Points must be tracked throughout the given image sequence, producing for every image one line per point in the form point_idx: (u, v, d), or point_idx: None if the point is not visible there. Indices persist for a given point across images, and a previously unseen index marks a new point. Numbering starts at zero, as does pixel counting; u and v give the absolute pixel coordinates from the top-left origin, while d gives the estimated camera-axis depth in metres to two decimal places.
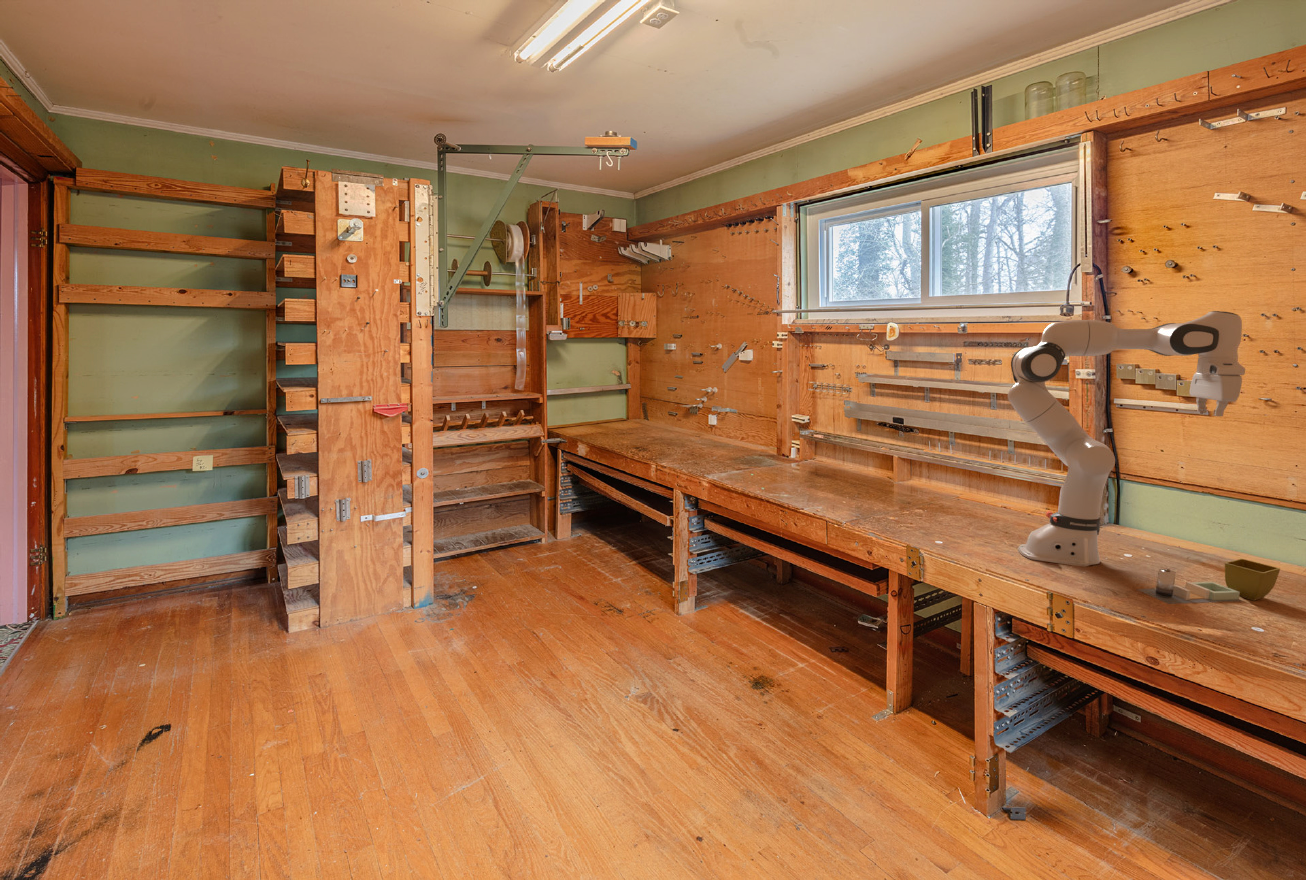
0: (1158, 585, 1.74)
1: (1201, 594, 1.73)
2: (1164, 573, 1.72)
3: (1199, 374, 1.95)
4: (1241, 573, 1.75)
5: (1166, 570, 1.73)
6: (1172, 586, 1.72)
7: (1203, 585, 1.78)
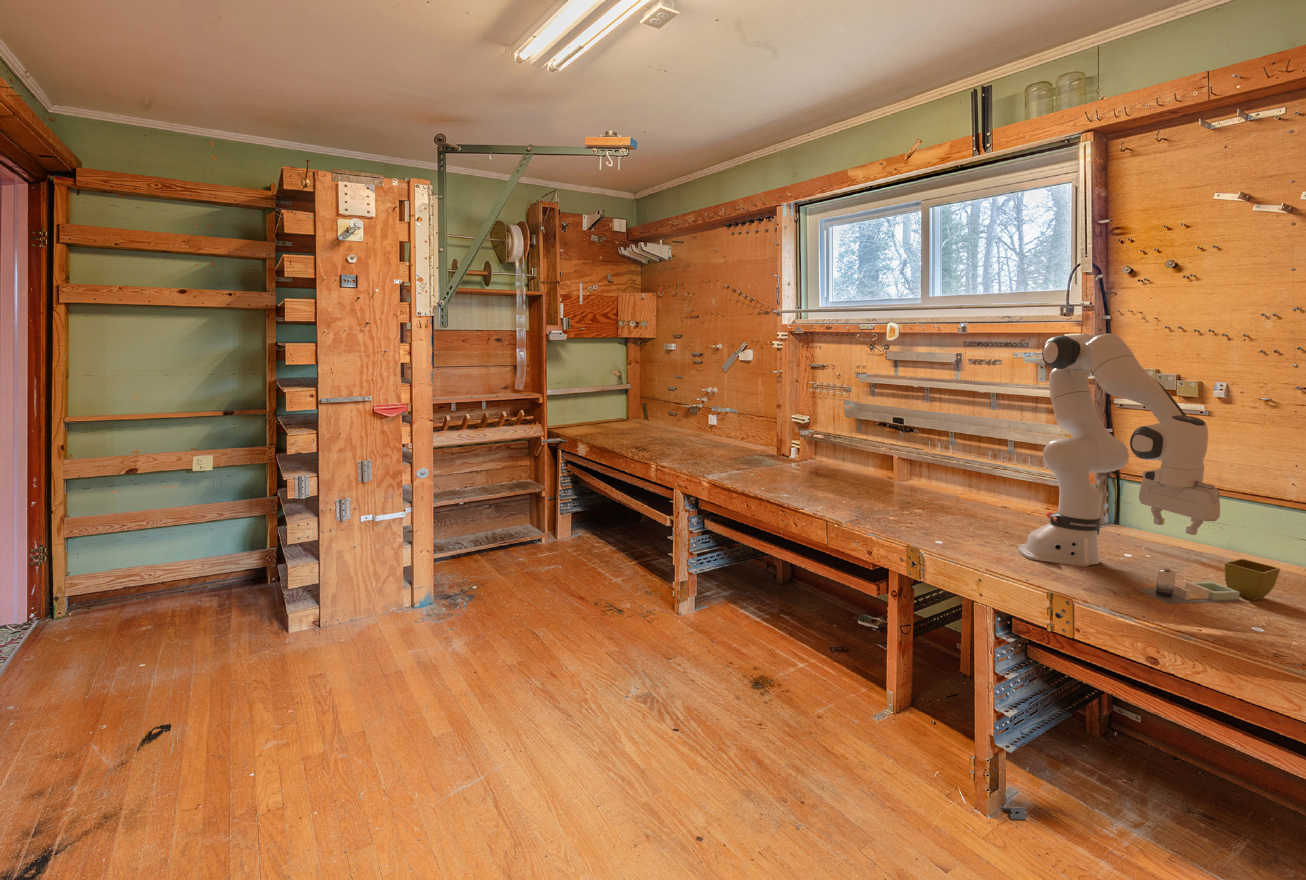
0: (1158, 585, 1.74)
1: (1201, 594, 1.73)
2: (1164, 573, 1.72)
3: None
4: (1241, 573, 1.75)
5: (1166, 570, 1.73)
6: (1172, 586, 1.72)
7: (1203, 585, 1.78)
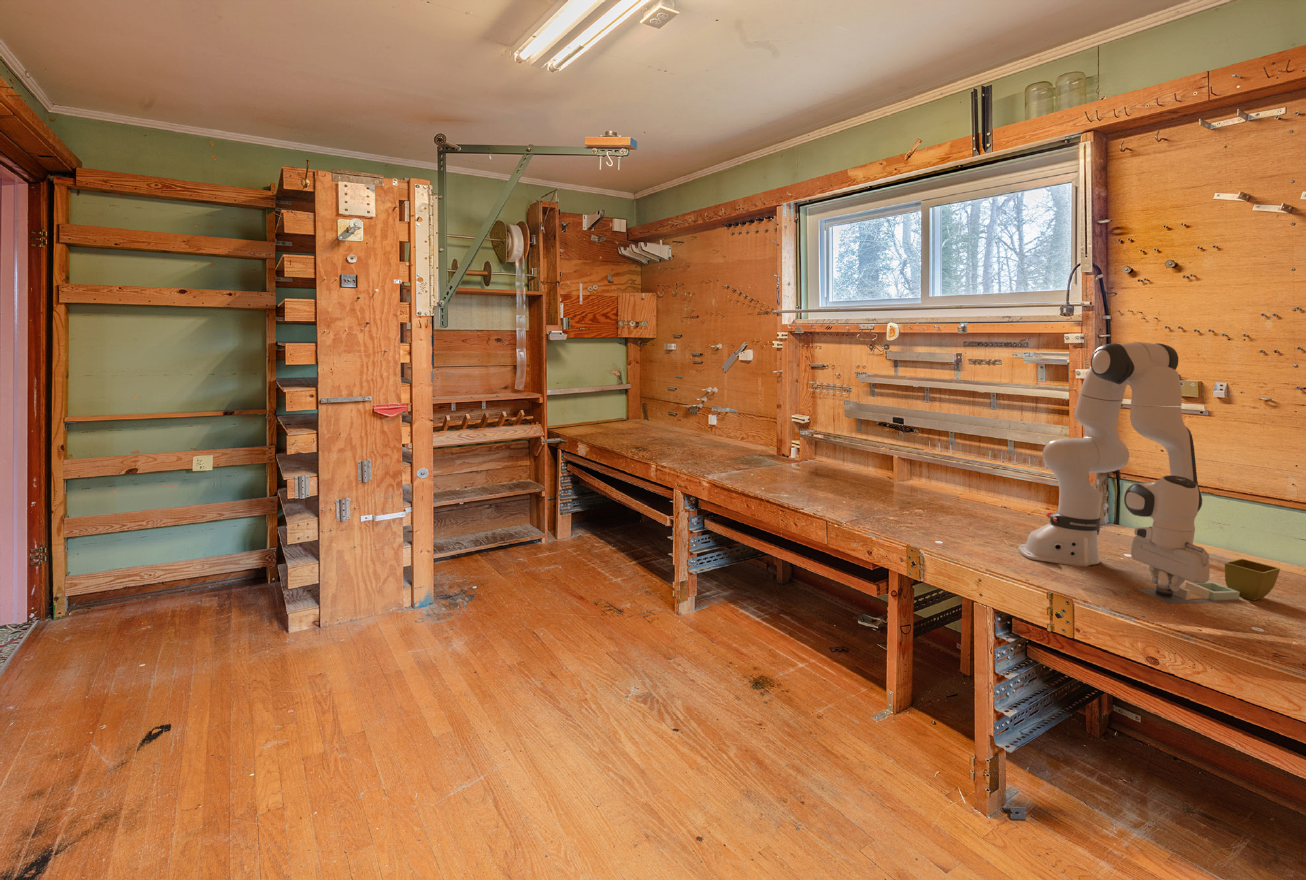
0: (1158, 585, 1.74)
1: (1201, 594, 1.73)
2: (1164, 573, 1.72)
3: None
4: (1241, 573, 1.75)
5: None
6: None
7: (1203, 585, 1.78)
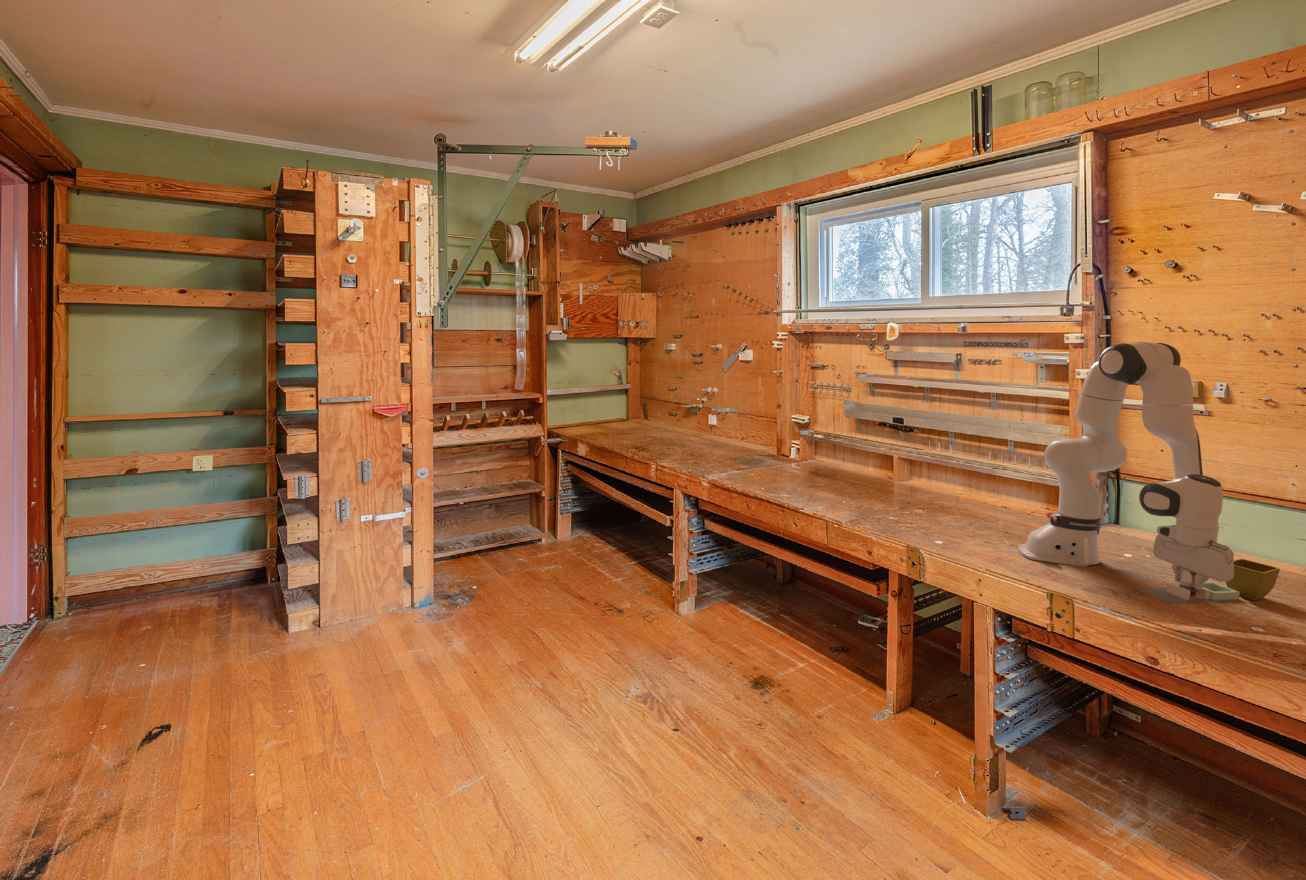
0: (1182, 583, 1.74)
1: (1201, 594, 1.73)
2: (1187, 572, 1.73)
3: None
4: (1241, 573, 1.75)
5: None
6: None
7: (1203, 585, 1.78)
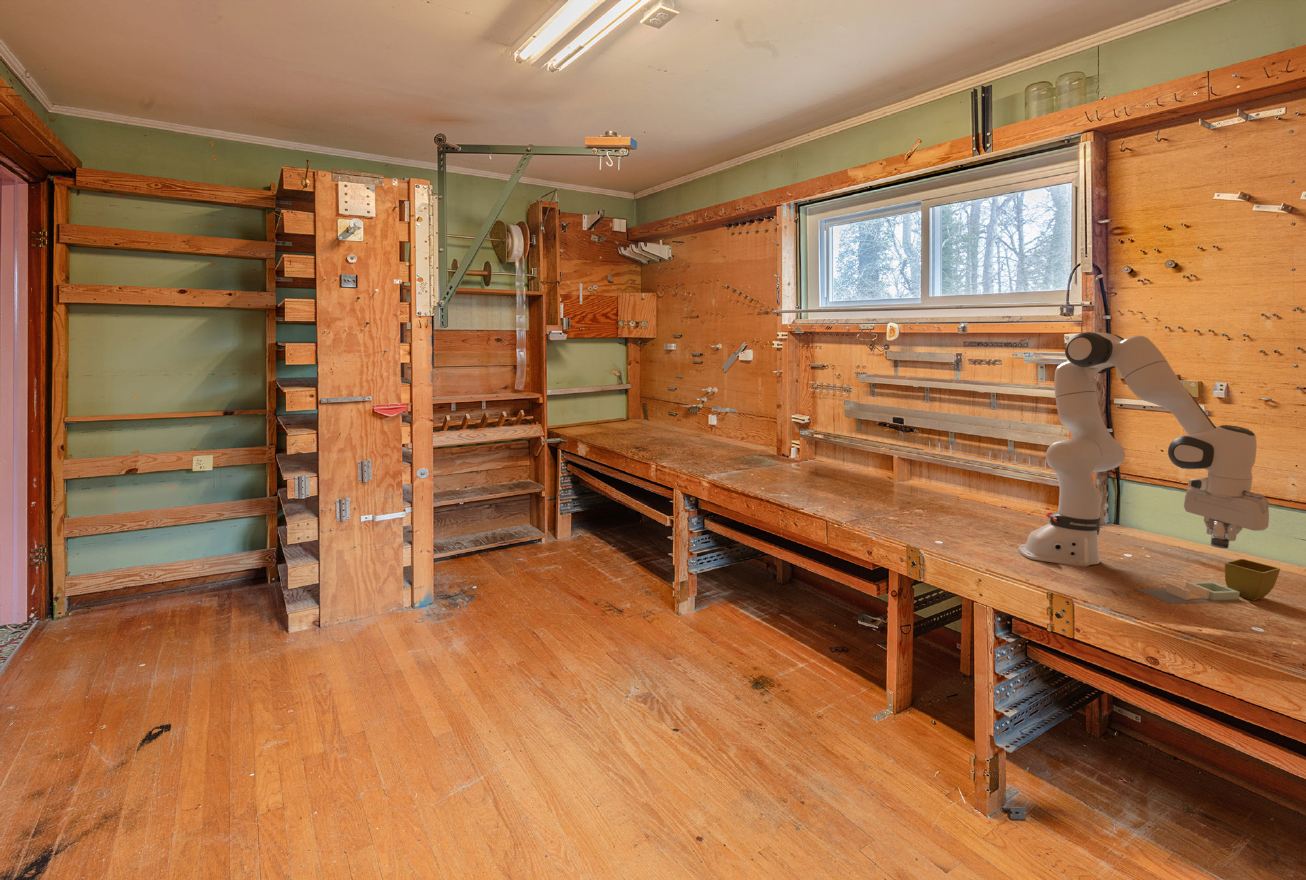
0: (1214, 535, 1.73)
1: (1201, 594, 1.73)
2: (1220, 523, 1.72)
3: None
4: (1241, 573, 1.75)
5: None
6: None
7: (1203, 585, 1.78)
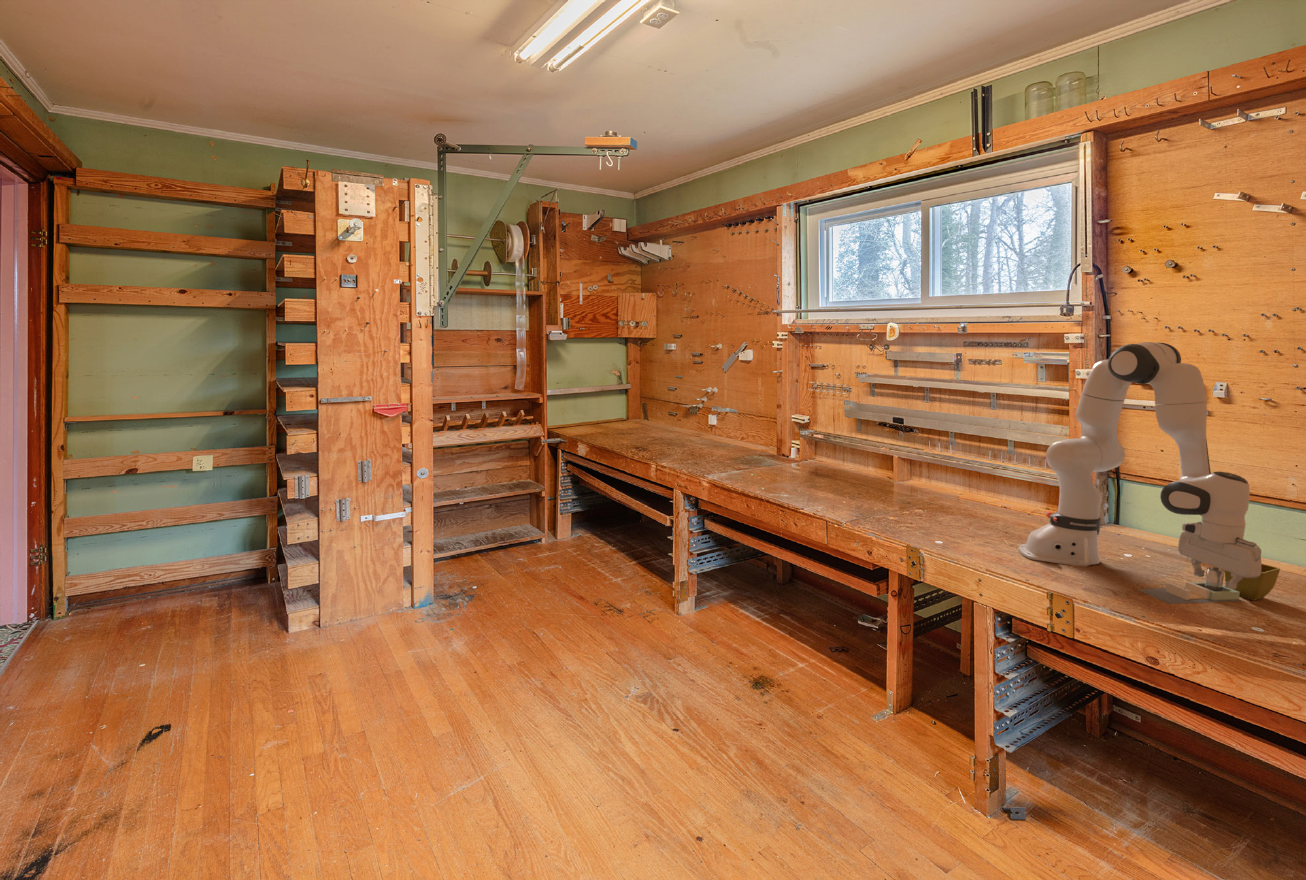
0: (1207, 583, 1.75)
1: (1201, 594, 1.73)
2: (1213, 572, 1.74)
3: None
4: None
5: (1215, 568, 1.74)
6: (1221, 584, 1.74)
7: (1203, 585, 1.78)
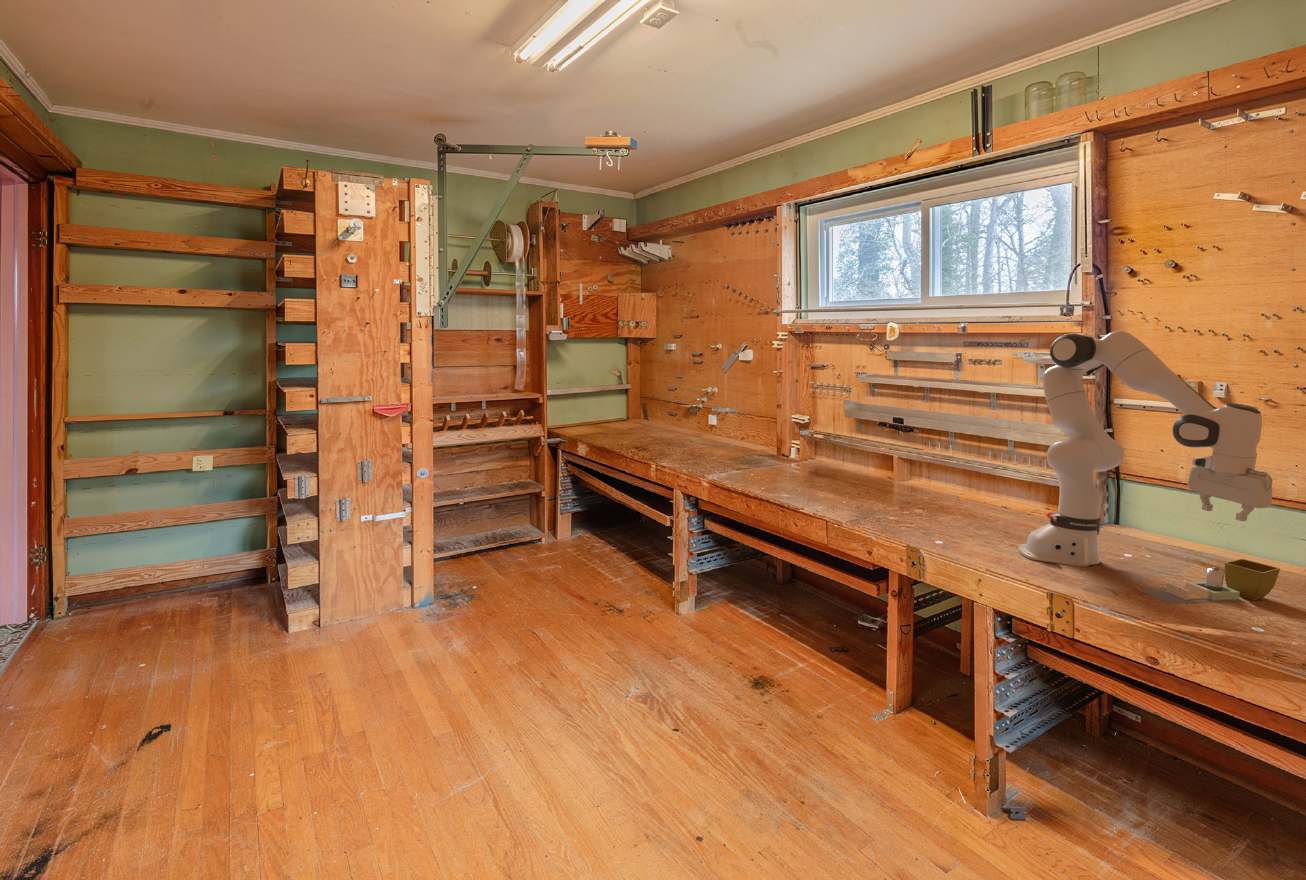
0: (1207, 583, 1.75)
1: (1201, 594, 1.73)
2: (1213, 572, 1.74)
3: None
4: (1241, 573, 1.75)
5: (1215, 568, 1.74)
6: (1221, 584, 1.74)
7: (1203, 585, 1.78)
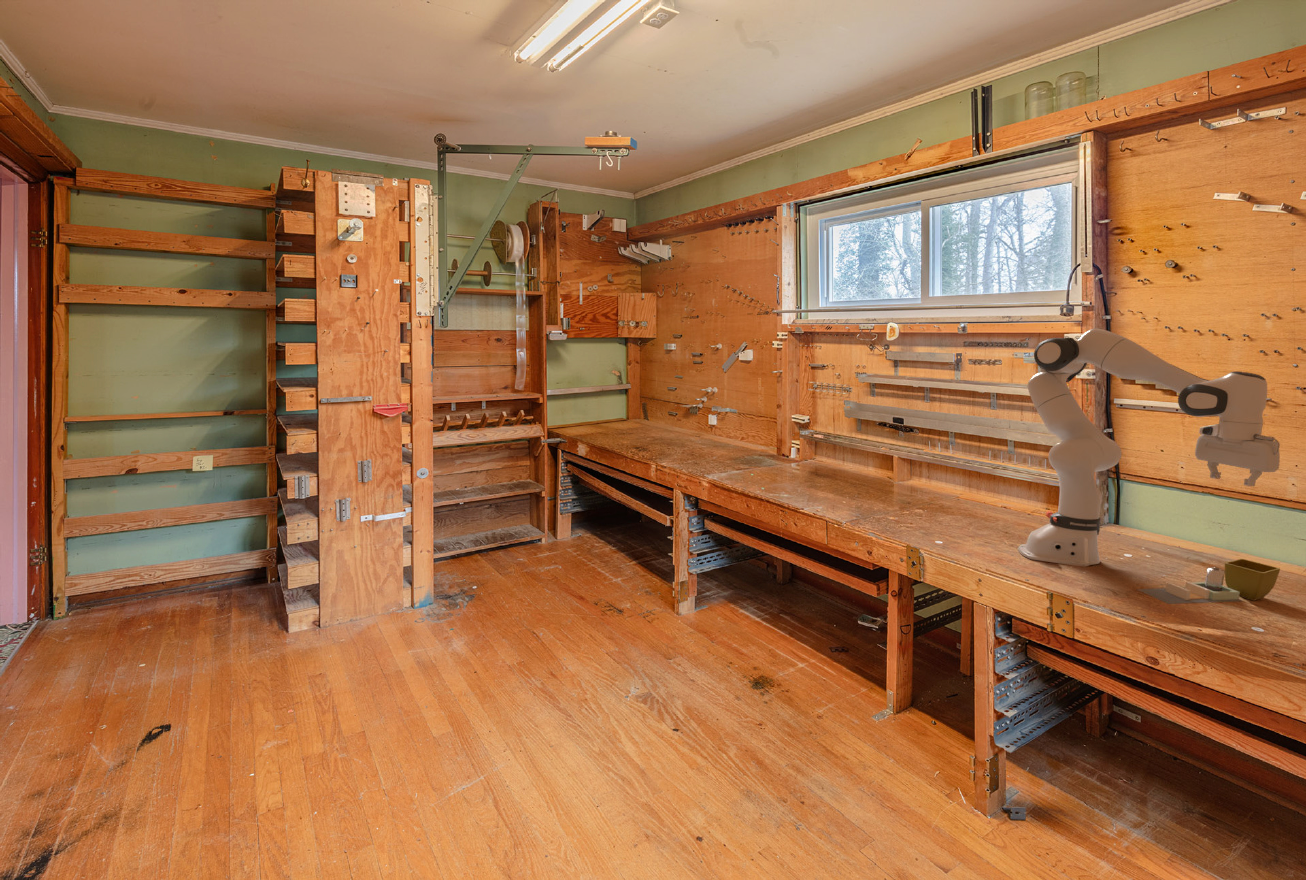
0: (1207, 583, 1.75)
1: (1201, 594, 1.73)
2: (1213, 572, 1.74)
3: None
4: (1241, 573, 1.75)
5: (1215, 568, 1.74)
6: (1221, 584, 1.74)
7: (1203, 585, 1.78)
